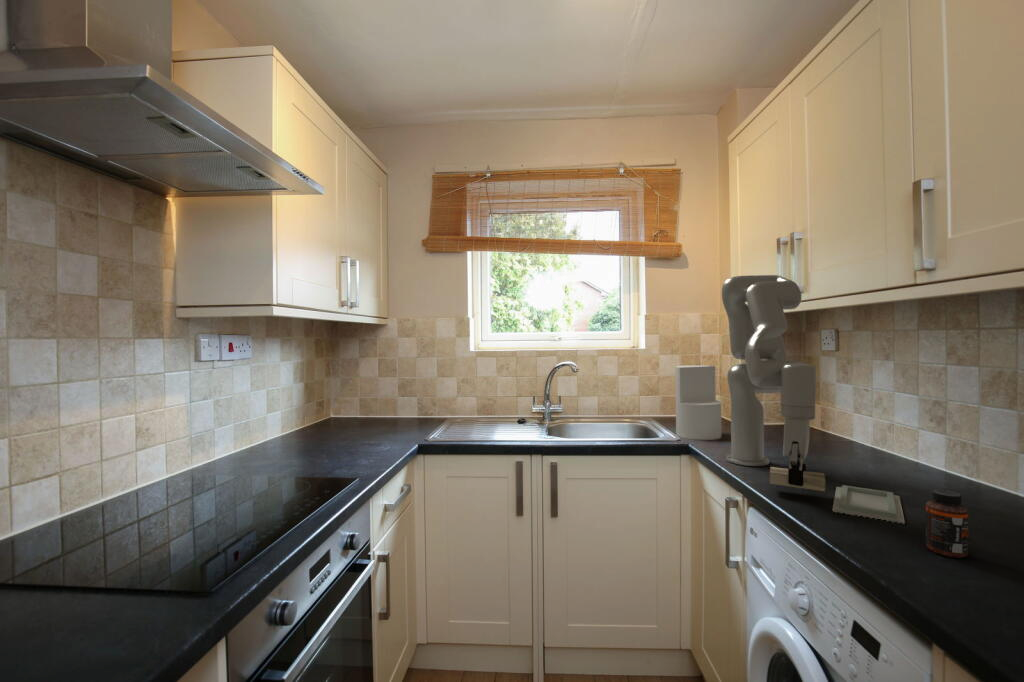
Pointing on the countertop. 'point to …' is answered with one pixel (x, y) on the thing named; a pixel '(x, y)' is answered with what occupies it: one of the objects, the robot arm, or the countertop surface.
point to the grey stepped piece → (697, 403)
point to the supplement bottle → (947, 524)
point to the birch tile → (809, 479)
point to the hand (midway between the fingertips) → (797, 480)
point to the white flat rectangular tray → (868, 503)
